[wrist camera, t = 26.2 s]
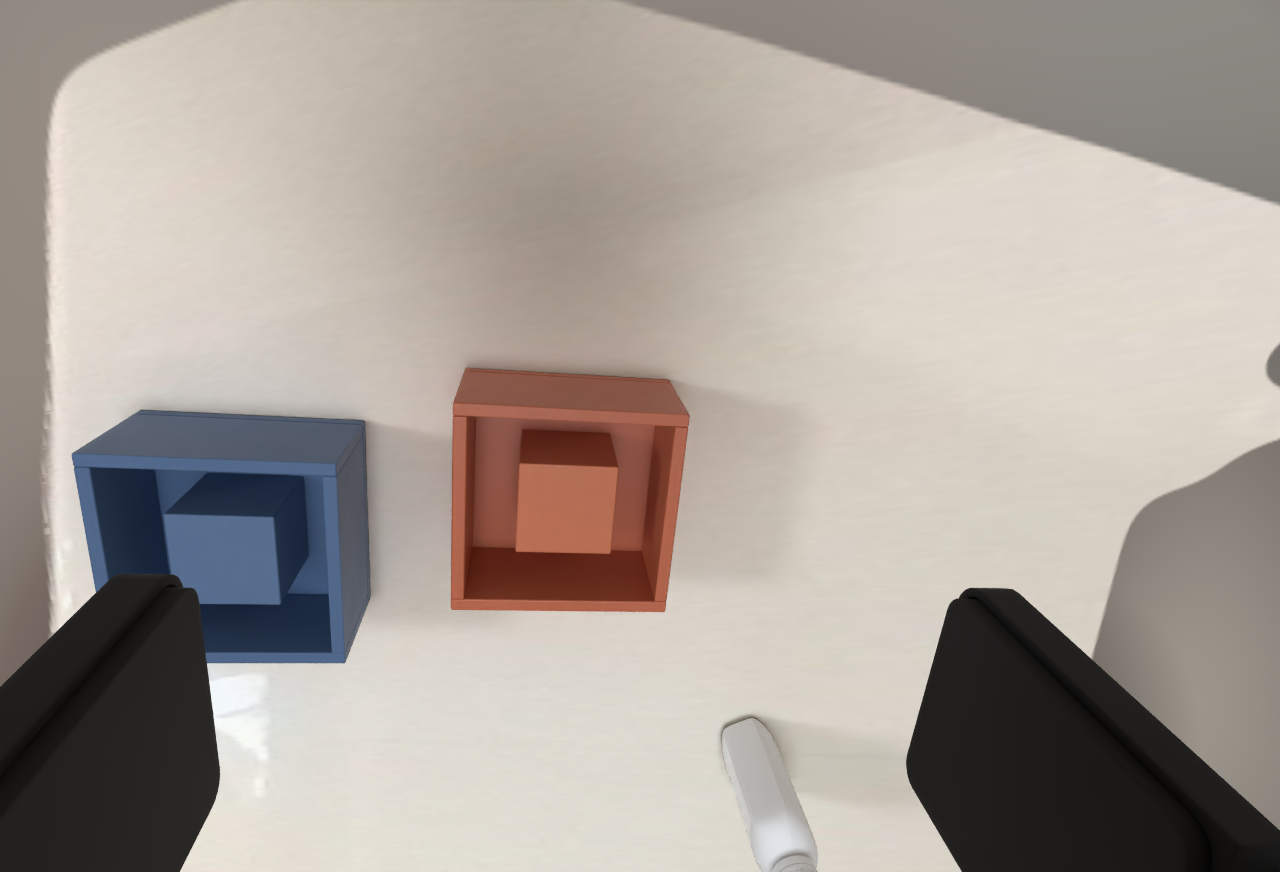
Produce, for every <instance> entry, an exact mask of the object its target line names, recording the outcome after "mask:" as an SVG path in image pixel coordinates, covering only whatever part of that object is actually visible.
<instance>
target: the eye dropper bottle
mask: <svg viewBox="0 0 1280 872" xmlns="http://www.w3.org/2000/svg"><path fill="white" fill-rule="evenodd" d="M722 753H723V757H724V761H725V764H726V767H727V771H728V774H729V777H730V780H731V784H732V787H733V790H734V793H735V797H736V800H737V803H738V806H739V810H740V813H741V816H742V819H743V823H744V826H745V829H746V832H747V836H748V839H749V842H750V845H751V848H752V852H753V854H754V857H755V860H756V862H757V864H758V866H759V868H760V869H761V871H762V872H817V870H816V869H817V862H818V854H817V847H816V843H815V840H814V837H813V834H812V832H811V829H810V827H809V824H808V822H807V819H806V817H805V814H804V812H803V809H802V807H801V804H800V802H799V799H798V797H797V794H796V792H795V789H794V787H793V784H792V782H791V779H790V777H789V775H788V772H787V770H786V767H785V765H784V762H783V760H782V757H781V755H780V752H779V750H778V747H777V745H776V743H775V741H774V739H773V737H772V735H771V734H770V732H769V731H768V730H767V729H766V727H765V726H764V725H763V724H762V723H760V722H759V721H758V720H756V719H754V718H750V719H746V720H743V721H740V722H738V723H735V724H733V725H730V726H728V727H727V728H725V729H724V731H723V734H722Z"/></svg>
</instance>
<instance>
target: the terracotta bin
mask: <svg viewBox="0 0 1280 872" xmlns="http://www.w3.org/2000/svg"><path fill="white" fill-rule="evenodd" d="M689 417H690V415H689V413H688V412H687V410H686V408H685V407H684V405H683V403H682V401H681V400H680V398H679V396H678V395H677V393H676V391H675V389H674V388H673V386H672V384H671V383H670V381H669V380H662V379H645V378H628V377H611V376H594V375H577V374H560V373H544V372H527V371H510V370H493V369H476V368H466V369H465V371H464V374H463V377H462V380H461V382H460V385H459V388H458V391H457V394H456V397H455V400H454V402H453V455H452V546H451V609H452V610H525V611H619V612H665V607H666V600H667V592H668V584H669V576H670V568H671V560H672V552H673V544H674V536H675V528H676V520H677V512H678V504H679V496H680V488H681V480H682V472H683V464H684V457H685V449H686V441H687V433H688V425H689ZM523 429H524V430H545V431H566V432H587V433H608V434H610V435H611V439H612V443H613V447H614V451H615V455H616V459H617V463H618V467H619V472H618V483H617V494H616V504H615V515H614V525H613V536H612V547H611V553H610V554H594V553H550V552H516V551H515V543H516V520H517V498H518V475H519V457H520V442H521V430H523Z"/></svg>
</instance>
